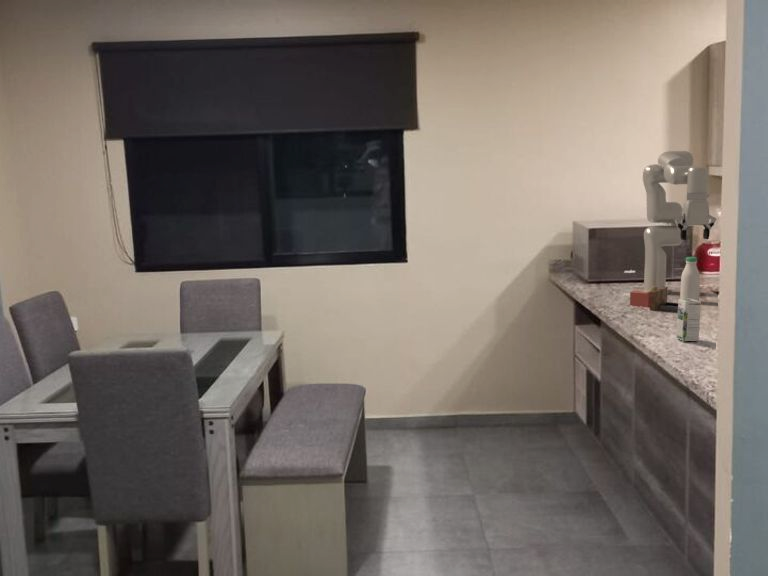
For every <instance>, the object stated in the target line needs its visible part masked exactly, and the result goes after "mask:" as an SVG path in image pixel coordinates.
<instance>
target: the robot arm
mask: <svg viewBox="0 0 768 576" xmlns="http://www.w3.org/2000/svg"><path fill="white" fill-rule="evenodd" d="M708 175H709V169H708V167H707V166H700V165H694V156H693V154H692V153H691V152H689V151H687V150H675V151H674V150H673V151H672V150H670V151H669V150H668V151H664V152H662V153H661V154H660V155H659V156H658V159H657V163H655V164H649V165H647V166H645V167H644V169H643V171H642V183H643V186H644V189H645V195H646V217H647V220H648V222H649V223H655V224H656V223H657V224H659V223H662V224H665V223H670V225H651V226H648V227H646V229H644V232H643V241H644V242H643V243H644V272H643V273H644V276H643V277H644V278H643V280H644V281H643V288H641V289H640V290H639V291H643V292H647V291H651V287H652V286H656V287H657V289H658V288H661V287H666V285H667V284H666V281H667V280H666V278H667V277H666V276H667V253H666V251H664V249H663V248H662V247H676V246H680V245H682V243H683V241H686V240H687V231H688V230H686V229H687V228H688V227H689V226H702V227H703V228H704V229H703V233H702V239H704V240H709V239H710V232H711V231H710V230H712V228H713V226H714V225H715V223H716V221H717V218H716V217H714V216H713V215H711V214H710V204H709V201H708V200H707V199H708V198H710V196H711V195H710V194H709V193H708V178H709V176H708ZM662 183H663V184H666V183H667V184H671V185H676V186H677V185H686V200H684V201H683V205H682V204H680V203H679V202H677V201H671V202H670V201H668V202H667V198H666V197H667V192H666V190H665V188H664V186H663V185H661V184H662ZM667 294H669V289H667Z"/></svg>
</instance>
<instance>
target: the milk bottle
mask: <svg viewBox="0 0 768 576" xmlns="http://www.w3.org/2000/svg"><path fill="white" fill-rule="evenodd" d="M685 263H686V264H685V267H684V269H683V270H682V273H681V279H680V293H679V296H680V297H679V299H694V300H697V301H700V290H701V289H700V287H701V285H700V284H701V275H700V272H699V269H698V266H697V263H698V257H695V256H687V257H685Z"/></svg>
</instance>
